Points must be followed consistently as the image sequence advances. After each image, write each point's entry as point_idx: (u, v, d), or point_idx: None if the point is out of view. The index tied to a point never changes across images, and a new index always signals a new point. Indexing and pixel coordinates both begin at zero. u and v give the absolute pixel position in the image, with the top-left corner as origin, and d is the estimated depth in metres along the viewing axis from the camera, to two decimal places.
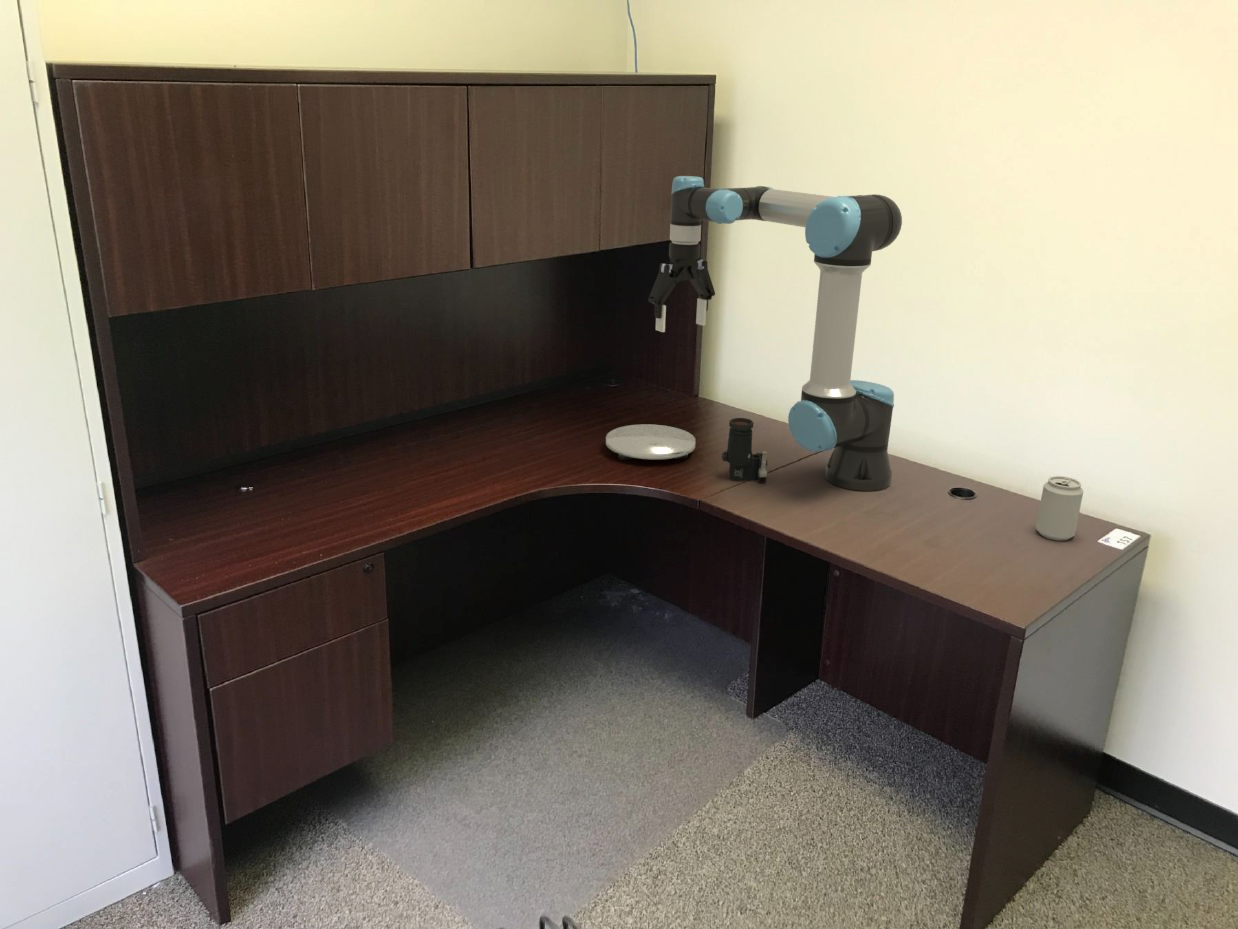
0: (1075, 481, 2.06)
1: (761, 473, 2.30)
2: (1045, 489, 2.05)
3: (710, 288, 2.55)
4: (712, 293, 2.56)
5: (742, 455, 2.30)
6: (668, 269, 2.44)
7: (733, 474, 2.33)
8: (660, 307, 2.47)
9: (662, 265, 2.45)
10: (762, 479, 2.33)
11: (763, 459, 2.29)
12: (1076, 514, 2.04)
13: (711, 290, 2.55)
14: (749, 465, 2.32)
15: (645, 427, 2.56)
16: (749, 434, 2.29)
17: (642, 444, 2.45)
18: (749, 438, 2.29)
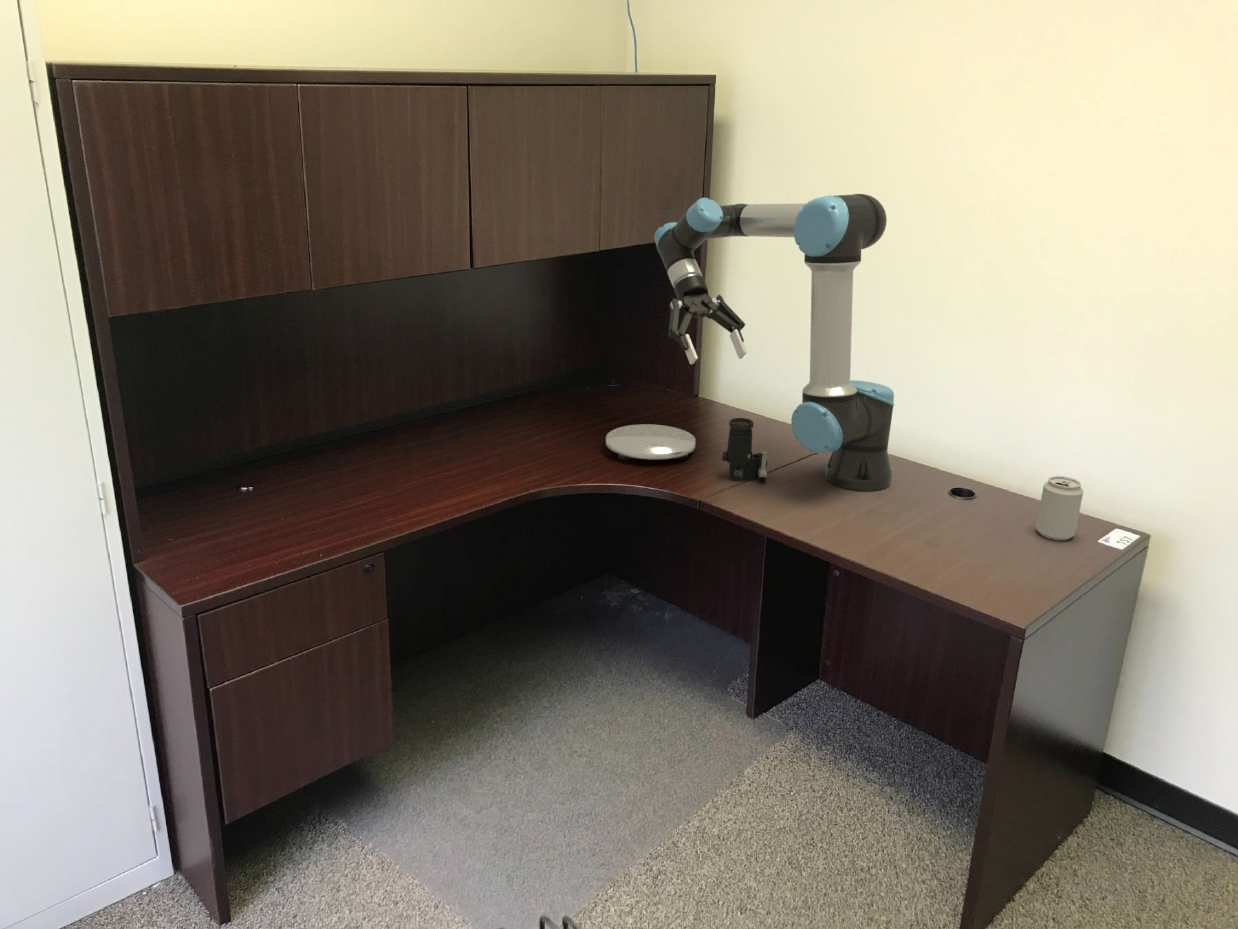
0: (1075, 481, 2.06)
1: (761, 473, 2.30)
2: (1045, 489, 2.05)
3: (737, 319, 2.41)
4: (741, 323, 2.41)
5: (742, 455, 2.30)
6: (677, 302, 2.36)
7: (733, 474, 2.33)
8: (683, 337, 2.33)
9: (670, 303, 2.38)
10: (762, 479, 2.33)
11: (763, 459, 2.29)
12: (1076, 514, 2.04)
13: (739, 321, 2.41)
14: (749, 465, 2.32)
15: (645, 427, 2.56)
16: (749, 434, 2.29)
17: (642, 444, 2.45)
18: (749, 438, 2.29)
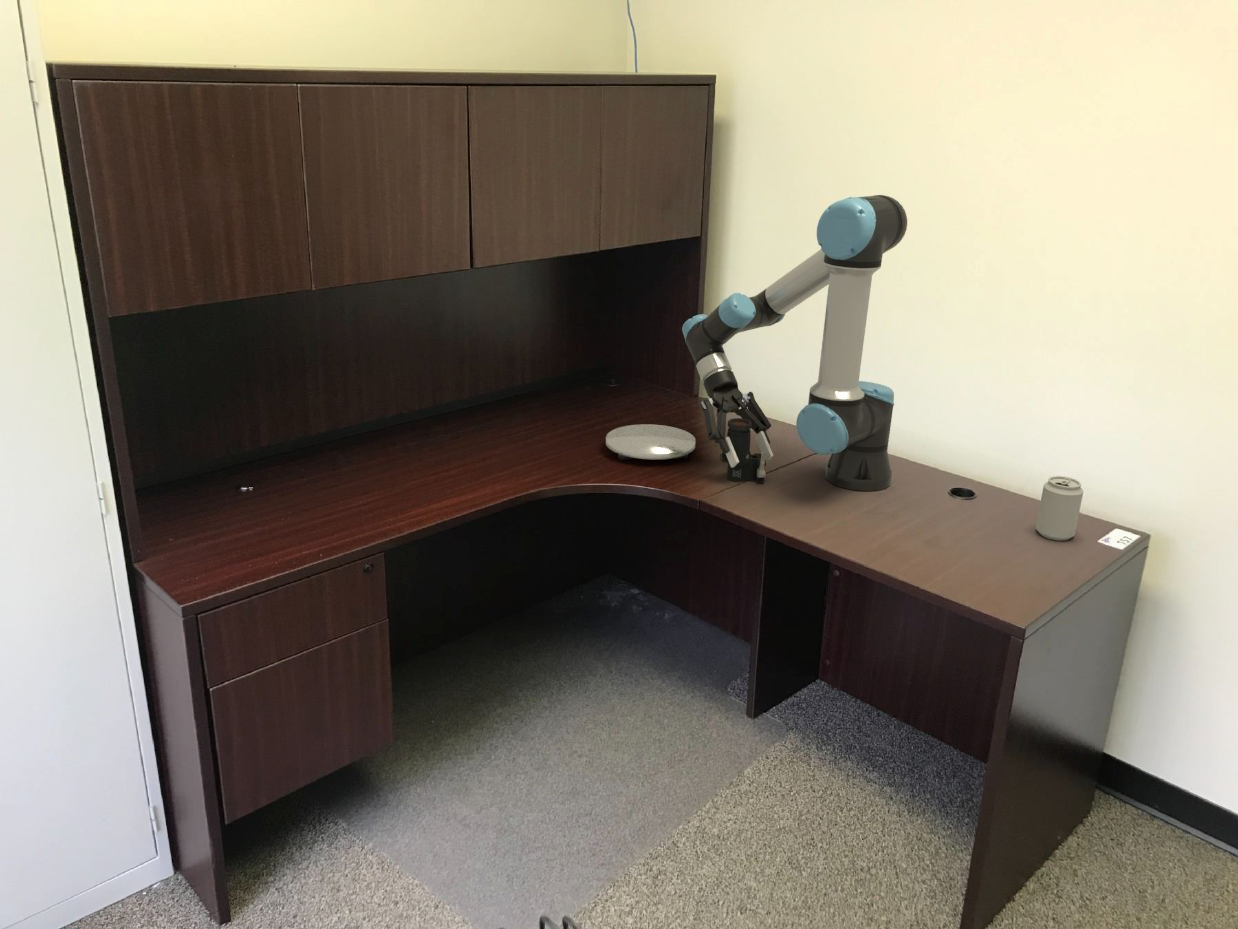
0: (1075, 481, 2.06)
1: (760, 473, 2.30)
2: (1045, 489, 2.05)
3: (763, 419, 2.35)
4: (767, 424, 2.35)
5: (741, 455, 2.29)
6: (708, 401, 2.32)
7: (731, 475, 2.32)
8: (724, 440, 2.29)
9: (701, 403, 2.33)
10: (761, 479, 2.32)
11: (762, 459, 2.29)
12: (1076, 514, 2.04)
13: (765, 421, 2.35)
14: (747, 465, 2.32)
15: (645, 427, 2.56)
16: (748, 434, 2.29)
17: (642, 444, 2.45)
18: (748, 438, 2.29)
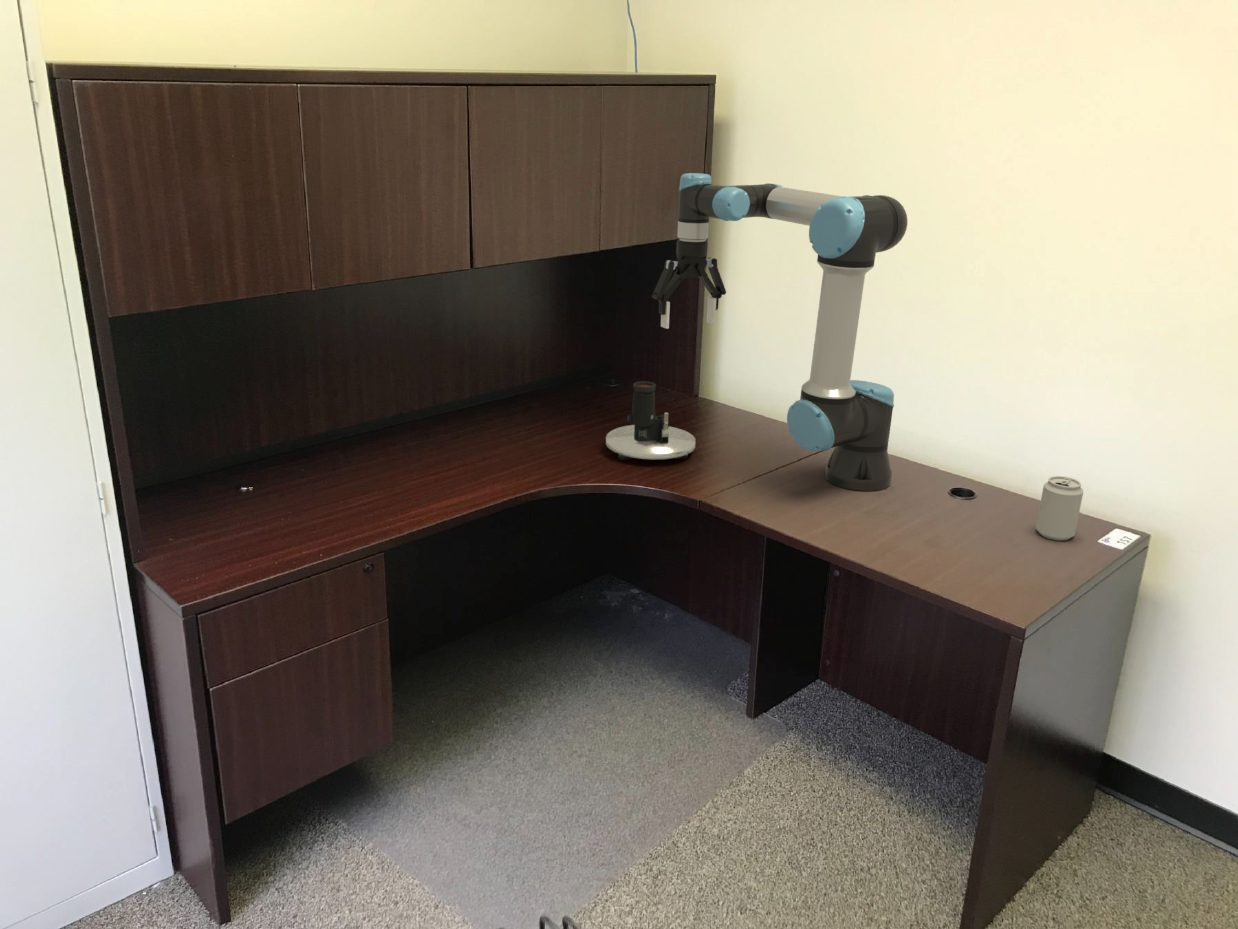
0: (1075, 481, 2.06)
1: (663, 433, 2.44)
2: (1045, 489, 2.05)
3: (720, 286, 2.53)
4: (723, 292, 2.54)
5: (645, 416, 2.43)
6: (672, 266, 2.45)
7: (638, 434, 2.46)
8: (664, 303, 2.48)
9: (667, 262, 2.45)
10: (665, 439, 2.46)
11: (665, 420, 2.43)
12: (1076, 514, 2.04)
13: (721, 289, 2.54)
14: (653, 426, 2.46)
15: None
16: (651, 396, 2.43)
17: (642, 444, 2.45)
18: (652, 400, 2.43)
